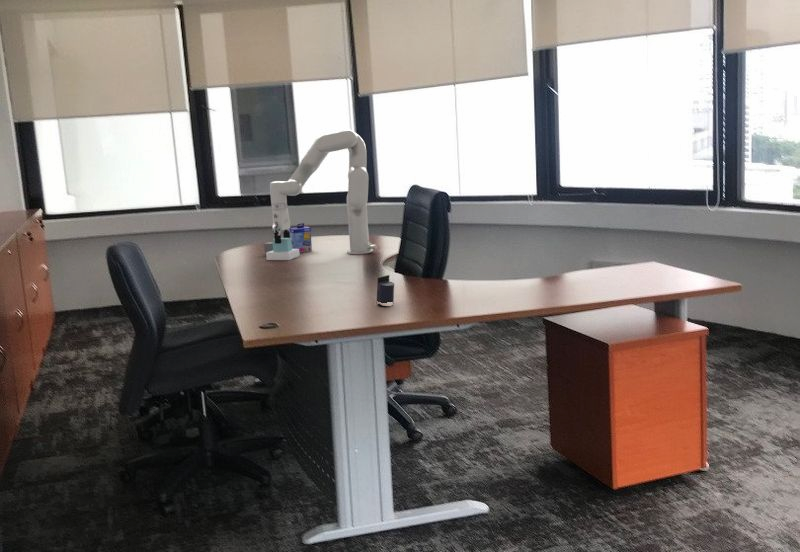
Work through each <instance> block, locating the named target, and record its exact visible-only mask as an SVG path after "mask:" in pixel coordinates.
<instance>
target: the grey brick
mask: <svg viewBox="0 0 800 552" xmlns="http://www.w3.org/2000/svg"><path fill="white" fill-rule="evenodd" d="M263 246H264V247H263V248H264V256H266V253H267V252H270V251H273V241H268V242H265V243H263Z"/></svg>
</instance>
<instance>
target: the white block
mask: <svg viewBox="0 0 800 552" xmlns="http://www.w3.org/2000/svg"><path fill="white" fill-rule="evenodd" d="M300 254H301V252H299V249H292V250H291V251H288V252H273V251H270V252H267V253H266V255H265V256H266V258H265V259H266V261H289V260H290V261H291V260H292V259H293V260H294V259H295V258H298V257H300V256H301V255H300Z"/></svg>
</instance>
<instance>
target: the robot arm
mask: <svg viewBox="0 0 800 552" xmlns="http://www.w3.org/2000/svg"><path fill="white" fill-rule="evenodd" d="M346 149H347V150H348V161H349V162H348V173H347V180H348V184H347V185H348V189H347V195H346V209H347V222H348V223H347V224H348V237H349V239H348V240H349V249H347V250H346V253H347V254H348V255H364V254H369V253H372V252H373V250H377V249H378V245H377V244H372V242H370V238H369V237H370V235H369V220H368V219H369V218H368V206H367V205H368V204H367V203H368V199H369V198H368V197H369V180H370V179H369V173H368V170H367V163H368V161H367V159H368V158H367V154H368V153H367V148H366V143H365V141H364V139H363V138H362V137H361V136H360V135H359V134H358V133H356V132H355V131H354V130H352V129H348V128H347V129H344V130H341V131H337V132H332V133H326V134H320V135H319V136H317V137H316V139H315V140H314V141H313V144H312V145H311V146H310V148H309V149H308V150H307V152H306V153H305V154H304V156H303V158H302V159H301V160H300V163H299V164H298V166H297V168H296V169H295V171H294V172H293V173H292V175H291V176H290V177H289V179H288V180H287V181H286V180H285V181H283V180H275V181H274V180H273V181H271V182H270V183H269V192H270V193H269V194H270V205H271V211H272V226H271V229H272V233H273V237H274V238H273V239H275V244H279V243H281V238H282V236H281V232H282V233H283V234H282V235H283V238H290V228H291V219H290V214H289V209H288V199H287V198H288V197H287V196H290V197H291V196H294V197H295V196H297V195H299V194H300V193H301V192H302V188H303V187H304V185H306V183H307V182H308V180H309V179H310V178H311V176H312V175H313V174H314V173H315V172H316V171H317V170H318V169H319V167H320V165H322V163H323V162H324V161H325V158H326V157H328V154H329V153H331V152H338V151H342V150H346Z"/></svg>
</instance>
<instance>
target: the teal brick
mask: <svg viewBox="0 0 800 552" xmlns="http://www.w3.org/2000/svg"><path fill="white" fill-rule="evenodd" d="M271 242H273V252H288V251H291V250H292V241H291V238H284V237H281V243H279V244H275V239H274V238H273V239H272V241H271Z"/></svg>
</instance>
